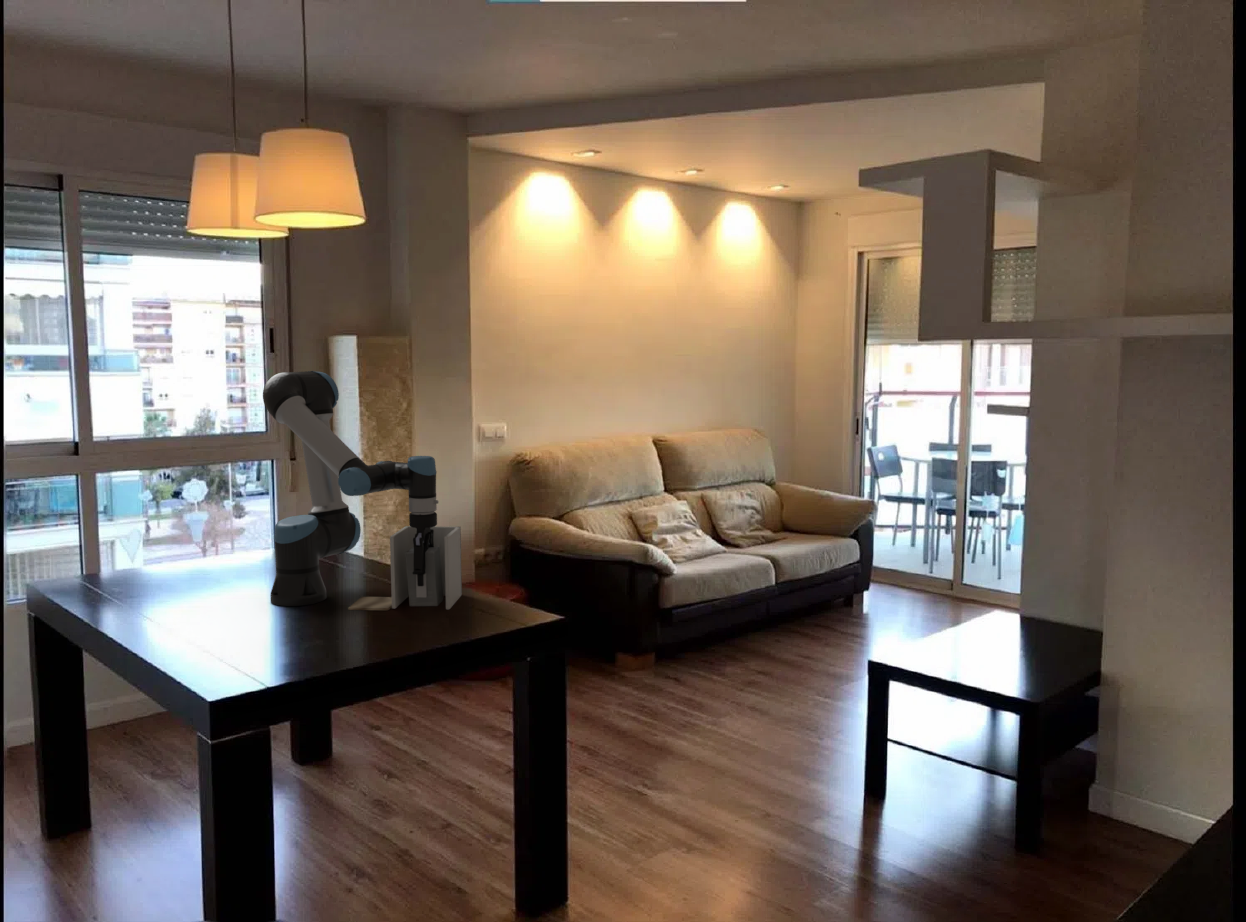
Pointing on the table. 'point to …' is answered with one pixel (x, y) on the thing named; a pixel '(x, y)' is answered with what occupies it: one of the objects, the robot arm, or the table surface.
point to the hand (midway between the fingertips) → (425, 593)
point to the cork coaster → (372, 603)
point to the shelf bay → (449, 559)
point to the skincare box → (432, 578)
